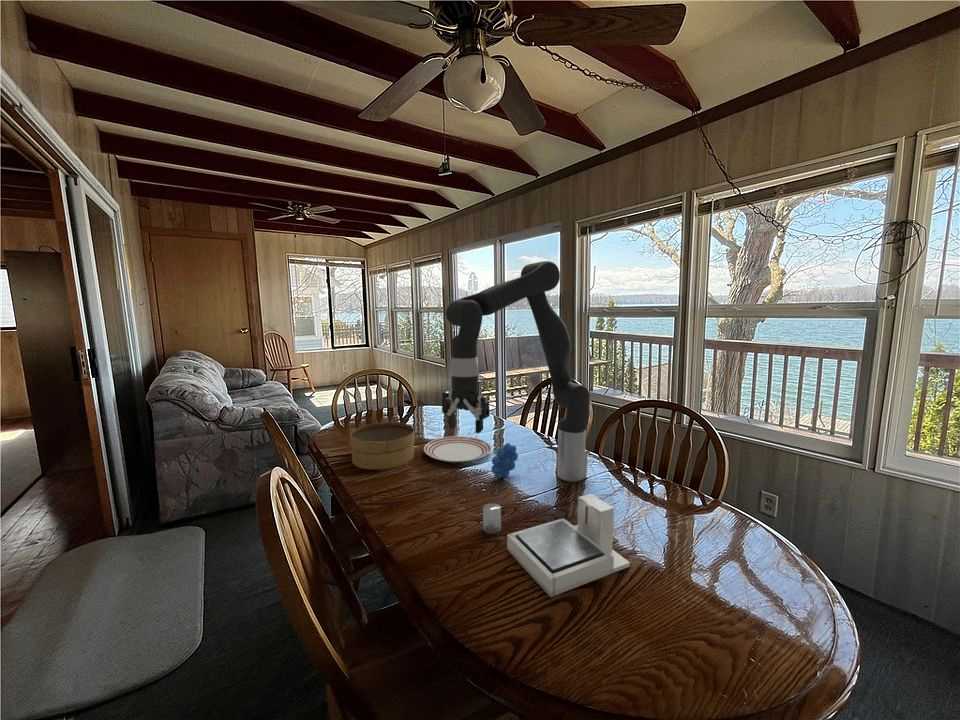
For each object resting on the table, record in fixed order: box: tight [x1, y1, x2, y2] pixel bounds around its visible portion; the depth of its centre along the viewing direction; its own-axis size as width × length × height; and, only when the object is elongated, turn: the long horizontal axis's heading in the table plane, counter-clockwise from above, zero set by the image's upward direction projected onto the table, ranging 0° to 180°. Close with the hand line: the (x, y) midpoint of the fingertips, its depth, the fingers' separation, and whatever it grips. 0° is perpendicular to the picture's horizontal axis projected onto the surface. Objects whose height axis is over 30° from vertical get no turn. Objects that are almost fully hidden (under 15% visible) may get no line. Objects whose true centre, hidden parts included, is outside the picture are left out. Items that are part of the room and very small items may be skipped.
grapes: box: [490, 442, 519, 479], centre depth 139 cm, size 12×7×12 cm, turn 127°
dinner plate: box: [423, 435, 493, 464], centre depth 161 cm, size 28×27×3 cm
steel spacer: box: [482, 502, 502, 535], centre depth 107 cm, size 5×5×6 cm
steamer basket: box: [349, 421, 416, 470], centre depth 158 cm, size 25×25×11 cm
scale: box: [506, 493, 631, 598], centre depth 94 cm, size 22×18×12 cm
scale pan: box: [517, 521, 603, 574], centre depth 93 cm, size 14×15×1 cm
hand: (465, 430), depth 112 cm, fingers open, 8 cm apart
